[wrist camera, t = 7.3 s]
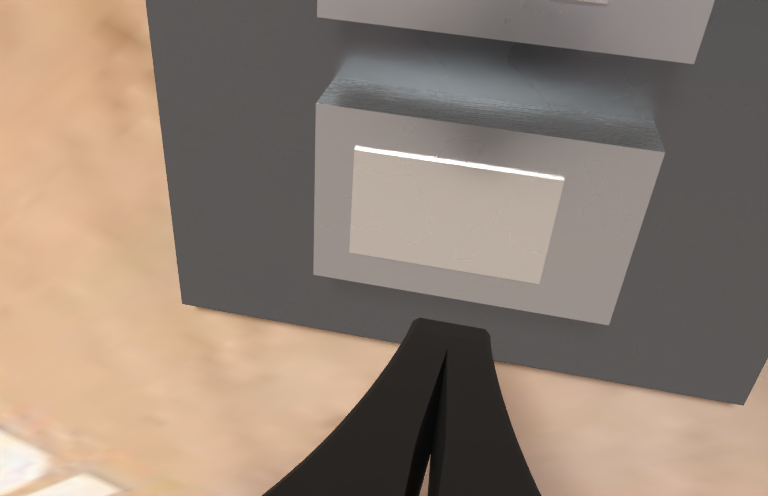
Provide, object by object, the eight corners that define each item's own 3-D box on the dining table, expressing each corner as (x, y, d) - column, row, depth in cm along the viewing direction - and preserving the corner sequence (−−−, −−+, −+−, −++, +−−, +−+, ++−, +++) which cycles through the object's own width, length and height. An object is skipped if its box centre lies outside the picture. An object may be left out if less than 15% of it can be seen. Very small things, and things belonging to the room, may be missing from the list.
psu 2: (654, 121, 17) (665, 154, 15) (603, 285, 20) (609, 327, 18) (334, 77, 18) (314, 105, 16) (330, 240, 20) (312, 277, 19)
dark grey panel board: (1313, -781, 9) (1555, -963, 7) (737, 386, 22) (759, 454, 19) (78, -762, 11) (-34, -895, 9) (192, 289, 24) (156, 340, 21)
